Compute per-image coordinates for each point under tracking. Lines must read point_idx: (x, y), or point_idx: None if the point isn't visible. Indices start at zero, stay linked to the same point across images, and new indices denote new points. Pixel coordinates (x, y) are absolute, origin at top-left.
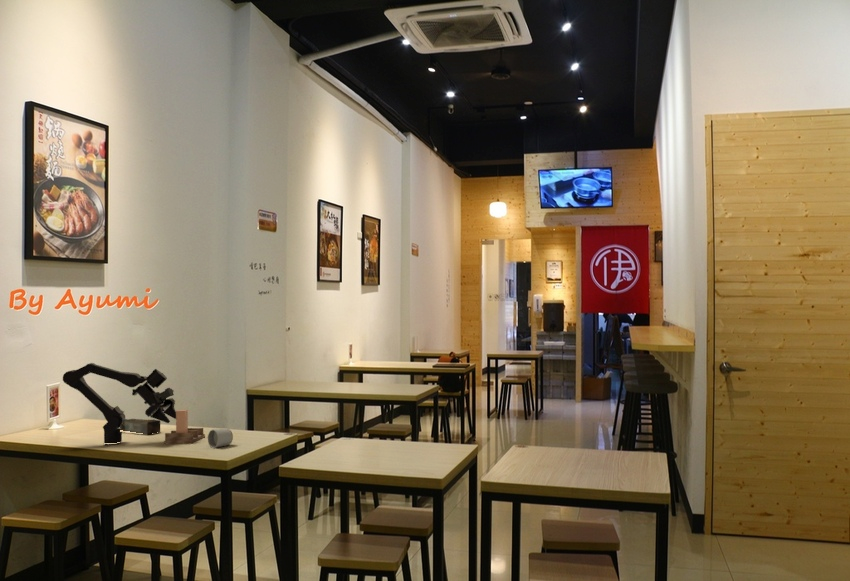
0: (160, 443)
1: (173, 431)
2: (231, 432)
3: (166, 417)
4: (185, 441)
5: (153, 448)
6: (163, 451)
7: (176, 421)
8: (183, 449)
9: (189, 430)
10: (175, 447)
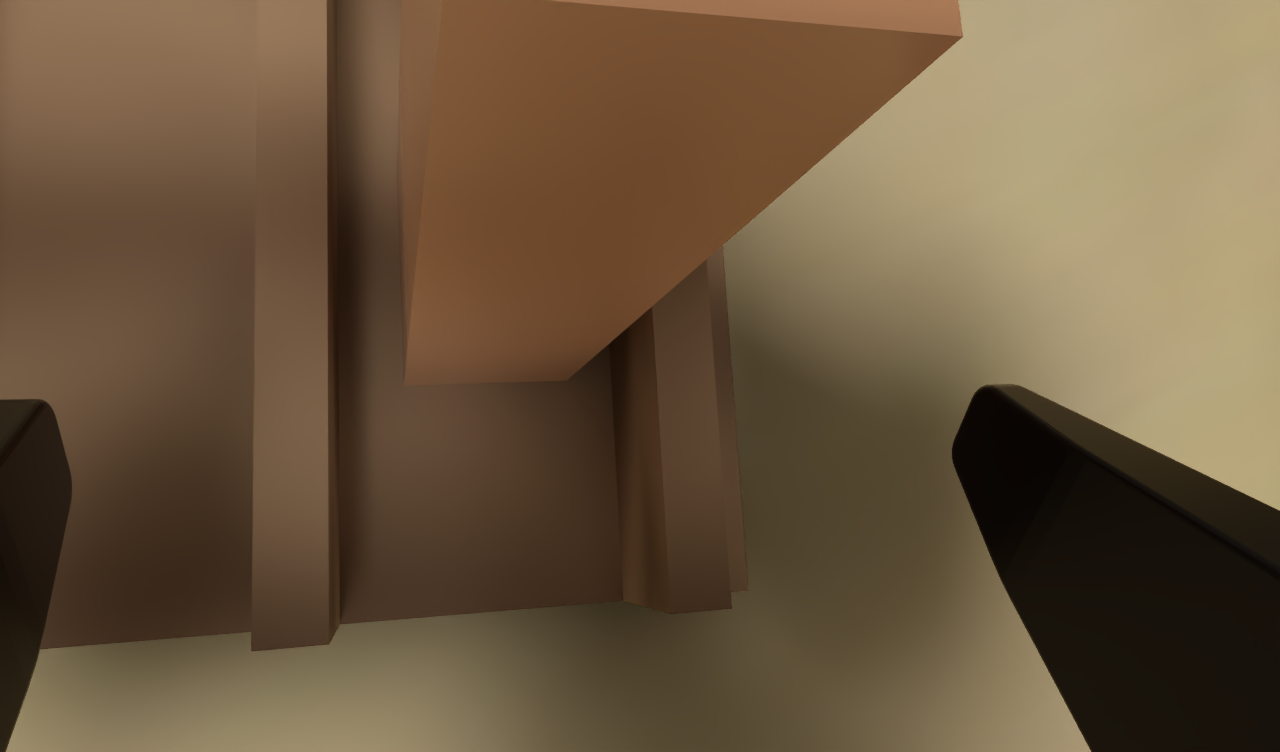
0: (674, 694)
1: (326, 562)
2: None
3: (1204, 484)
4: None
5: None
6: (1250, 282)
7: (698, 248)
8: (1097, 28)
9: (260, 99)
10: (986, 210)
